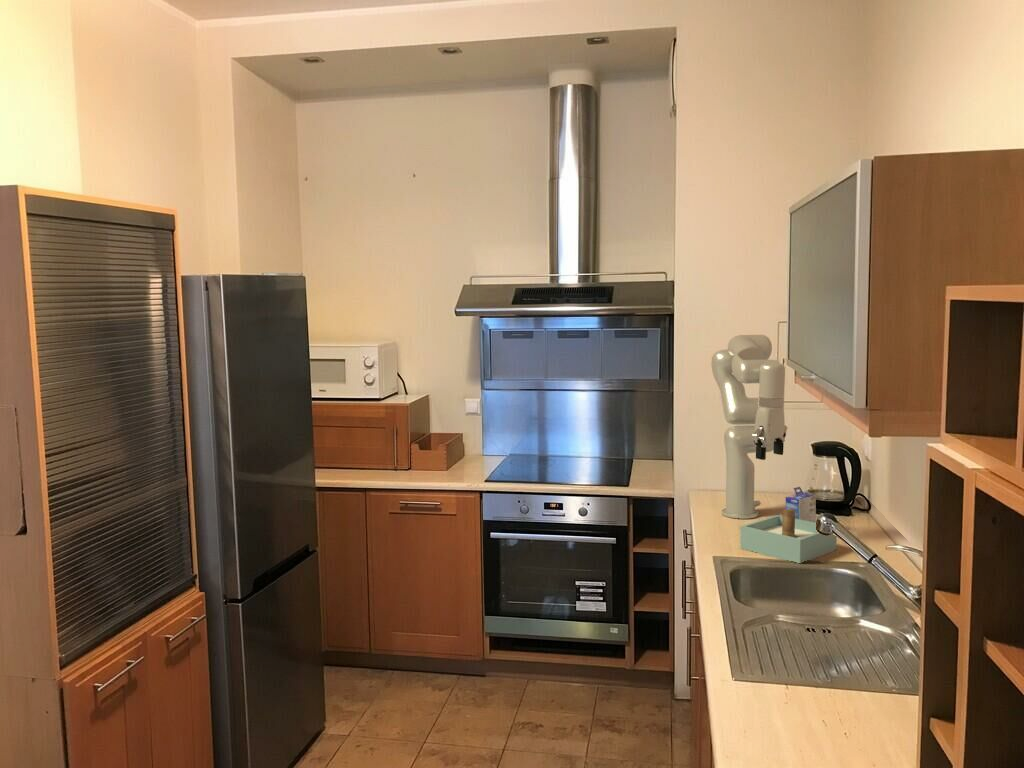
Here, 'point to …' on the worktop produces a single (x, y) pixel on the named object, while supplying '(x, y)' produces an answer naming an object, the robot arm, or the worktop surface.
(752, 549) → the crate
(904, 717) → the worktop surface
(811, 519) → the ink cartridge box
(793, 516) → the peg
